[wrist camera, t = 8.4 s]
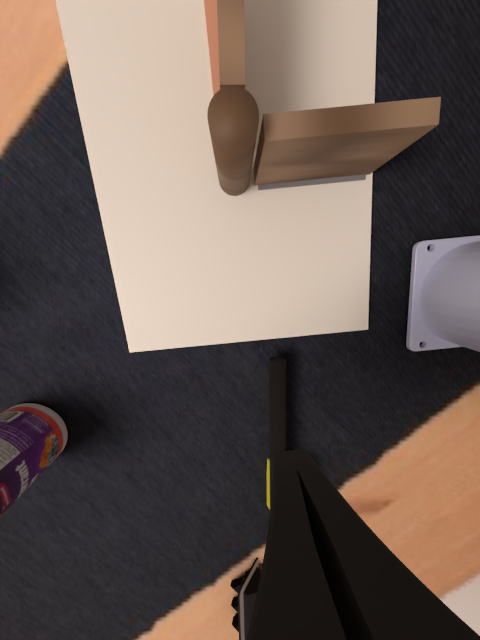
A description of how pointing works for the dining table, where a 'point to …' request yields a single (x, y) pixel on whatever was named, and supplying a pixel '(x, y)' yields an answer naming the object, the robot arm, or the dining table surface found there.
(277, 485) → the robot arm
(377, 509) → the dining table surface
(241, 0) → the gate panel
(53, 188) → the dining table surface
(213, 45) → the card
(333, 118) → the frame
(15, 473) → the pill bottle
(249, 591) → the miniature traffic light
